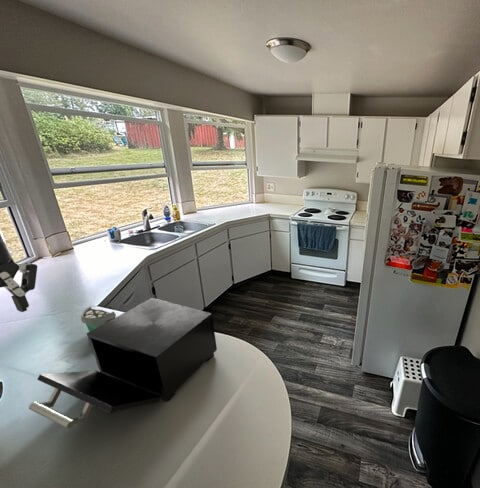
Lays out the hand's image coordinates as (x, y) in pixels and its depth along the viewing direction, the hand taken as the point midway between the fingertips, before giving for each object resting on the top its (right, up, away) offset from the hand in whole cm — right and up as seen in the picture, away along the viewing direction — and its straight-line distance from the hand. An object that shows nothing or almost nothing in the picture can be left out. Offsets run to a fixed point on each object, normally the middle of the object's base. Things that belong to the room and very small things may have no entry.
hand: (8, 316), depth 54 cm
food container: (-15, -19, +39) cm, 46 cm away
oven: (+16, -24, +27) cm, 40 cm away
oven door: (+12, -26, +15) cm, 33 cm away
